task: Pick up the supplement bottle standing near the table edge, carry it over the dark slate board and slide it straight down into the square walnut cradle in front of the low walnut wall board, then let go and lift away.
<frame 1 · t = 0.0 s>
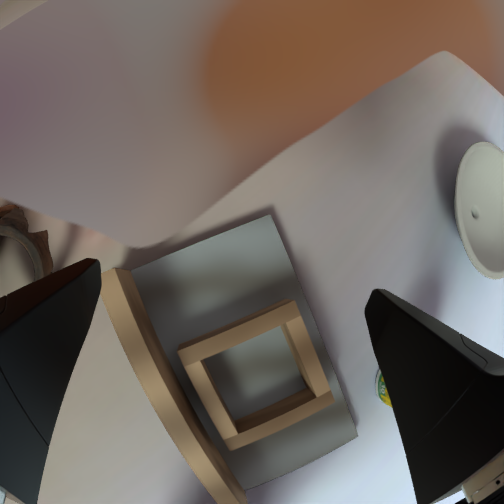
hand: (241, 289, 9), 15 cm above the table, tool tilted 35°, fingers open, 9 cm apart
grey-brown curved piece: (13, 263, 21), on the table
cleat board: (242, 373, 24), on the table
dish: (468, 214, 30), on the table
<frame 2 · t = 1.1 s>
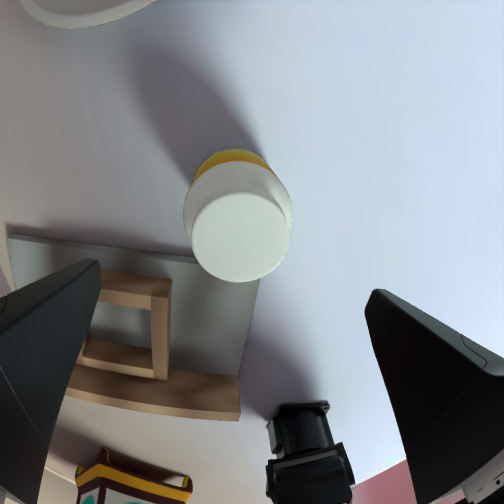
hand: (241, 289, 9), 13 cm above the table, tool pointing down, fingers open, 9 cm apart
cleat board: (123, 318, 25), on the table
supplement bottle: (233, 183, 21), on the table
decorative lantern: (130, 472, 42), on the table
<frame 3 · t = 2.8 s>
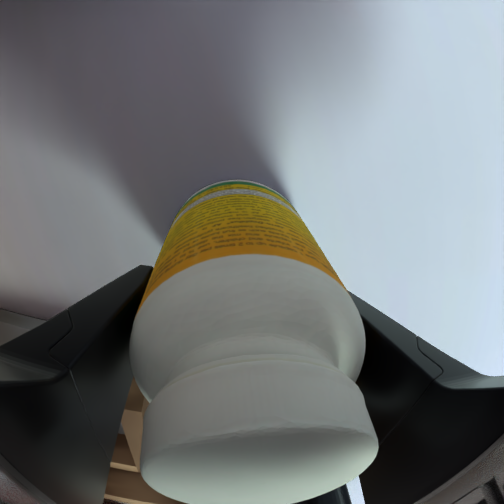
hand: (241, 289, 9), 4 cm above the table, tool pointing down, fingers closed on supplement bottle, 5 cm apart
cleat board: (94, 401, 17), on the table
supplement bottle: (236, 238, 13), on the table, touching gripper
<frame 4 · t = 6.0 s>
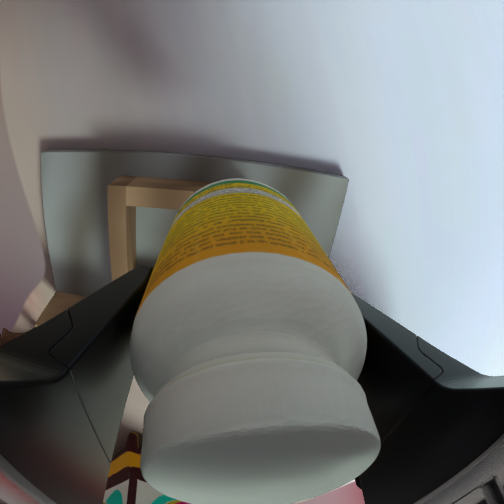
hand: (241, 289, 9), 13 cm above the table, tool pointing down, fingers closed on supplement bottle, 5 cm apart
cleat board: (181, 248, 22), on the table
supplement bottle: (236, 237, 13), point 9 cm above the table, touching gripper
decorative lantern: (160, 462, 40), on the table
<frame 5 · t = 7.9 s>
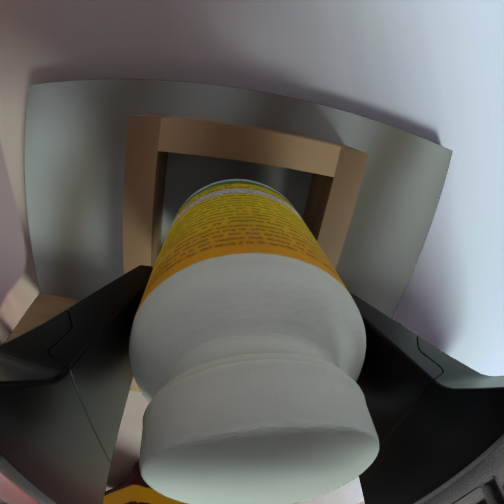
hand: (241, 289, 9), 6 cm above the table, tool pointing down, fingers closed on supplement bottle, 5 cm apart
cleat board: (228, 232, 15), on the table
supplement bottle: (236, 237, 13), point 3 cm above the table, touching gripper
decorative lantern: (168, 488, 32), on the table
when the fingers open (6 cm above the table, at t = 9.2 s): supplement bottle drops 1 cm, resting on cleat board.
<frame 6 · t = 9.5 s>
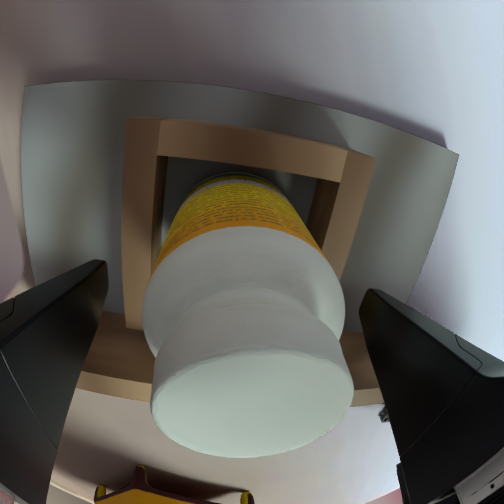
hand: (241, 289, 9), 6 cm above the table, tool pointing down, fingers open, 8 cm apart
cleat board: (230, 237, 15), on the table
supplement bottle: (234, 225, 14), point 1 cm above the table, touching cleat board
decorative lantern: (169, 491, 32), on the table
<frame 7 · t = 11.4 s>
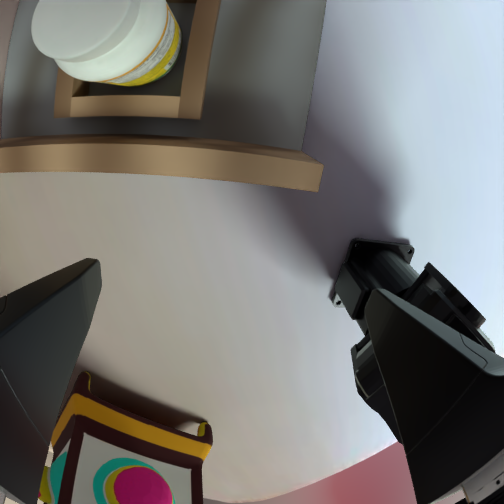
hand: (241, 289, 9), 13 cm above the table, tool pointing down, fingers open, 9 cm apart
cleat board: (142, 63, 16), on the table
supplement bottle: (141, 48, 15), point 1 cm above the table, touching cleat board
decorative lantern: (124, 423, 33), on the table
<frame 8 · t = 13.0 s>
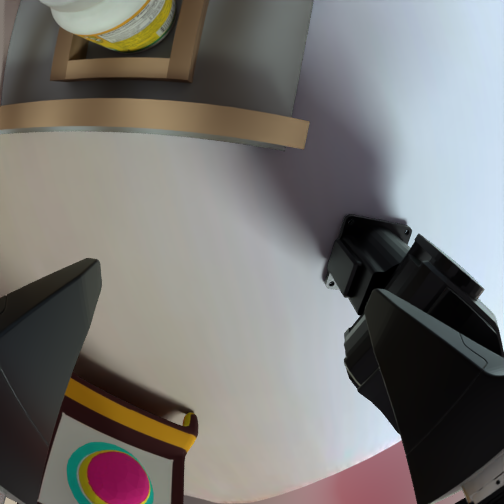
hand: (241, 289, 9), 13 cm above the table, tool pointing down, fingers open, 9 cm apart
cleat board: (138, 34, 15), on the table
supplement bottle: (138, 19, 14), point 1 cm above the table, touching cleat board
decorative lantern: (109, 410, 32), on the table
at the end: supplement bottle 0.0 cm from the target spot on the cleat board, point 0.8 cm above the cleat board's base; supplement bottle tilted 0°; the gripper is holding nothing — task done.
